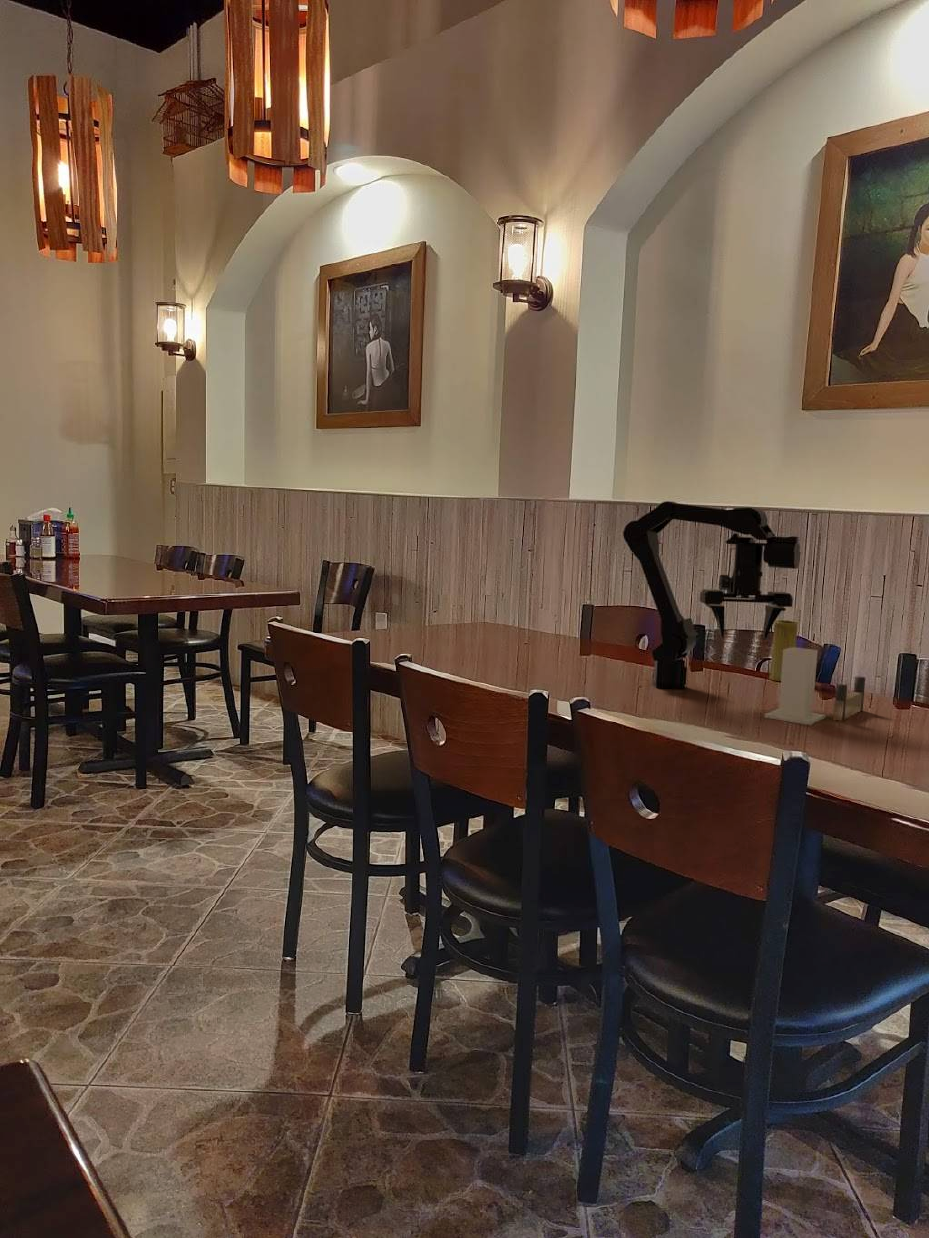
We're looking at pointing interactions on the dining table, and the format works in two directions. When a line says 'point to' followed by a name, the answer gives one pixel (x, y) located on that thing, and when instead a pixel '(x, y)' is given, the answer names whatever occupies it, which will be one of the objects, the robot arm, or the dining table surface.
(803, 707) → the beige tall rectangular block
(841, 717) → the rack
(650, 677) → the dining table surface
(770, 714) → the coaster
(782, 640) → the vase
